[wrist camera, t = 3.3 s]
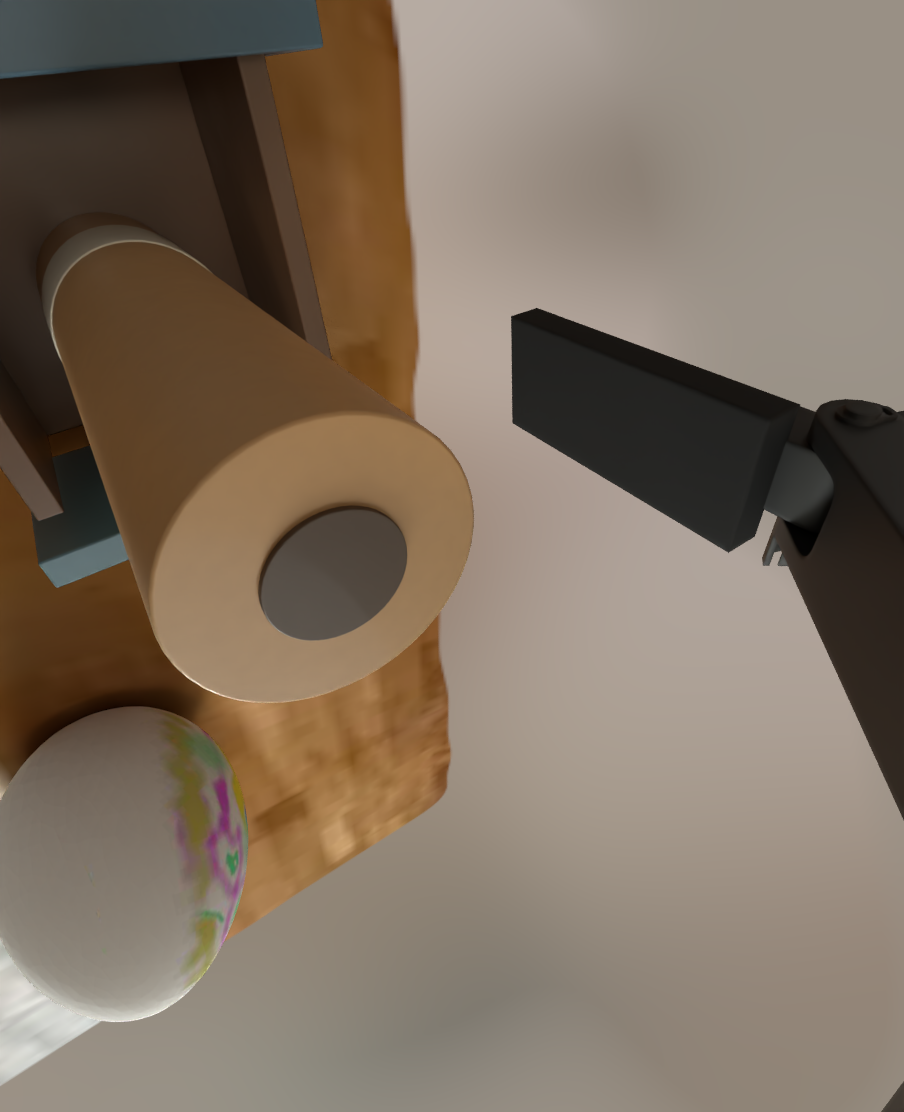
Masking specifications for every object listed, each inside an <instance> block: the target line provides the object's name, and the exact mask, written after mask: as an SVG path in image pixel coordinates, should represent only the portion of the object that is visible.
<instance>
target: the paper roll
mask: <svg viewBox="0 0 904 1112" xmlns="http://www.w3.org/2000/svg"><path fill="white" fill-rule="evenodd" d="M36 281H37V288H38V291H39V295H40V298H41V301H42V304H43V311H44V314H45V318H46V321H47V324H48V327H49V330H50V333H51V336H52V340H53V343H54V346H55V349H56V351H57V353H58V355H59V357H60V360H61V361H62V363H63V366H64V369H65V372H66V375H67V378H68V381H69V384H70V387H71V390H72V393H73V396H74V399H75V402H76V405H77V407H78V410H79V413H80V416H81V419H82V422H83V425H84V428H85V431H86V434H87V437H88V440H89V443H90V446H91V449H92V452H93V455H94V458H95V461H96V464H97V467H98V470H99V473H100V475H101V478H102V481H103V484H104V487H105V490H106V493H107V496H108V499H109V502H110V505H111V508H112V511H113V514H114V517H115V520H116V523H117V526H118V529H119V532H120V535H121V538H122V541H123V543H124V546H125V549H126V552H127V555H128V558H129V561H130V564H131V567H132V570H133V573H134V576H135V579H136V582H137V585H138V588H139V591H140V594H141V597H142V600H143V603H144V606H145V609H146V611H147V614H148V617H149V620H150V623H151V626H152V629H153V632H154V635H155V637H156V639H157V641H158V643H159V645H160V647H161V649H162V651H163V652H164V654H165V655H166V656H167V658H168V659H169V660H170V661H171V663H172V664H173V665H174V666H175V667H176V668H177V669H178V670H179V671H180V672H181V673H182V674H183V675H185V676H186V677H187V678H188V679H190V680H191V681H193V682H194V683H196V684H198V685H199V686H201V687H202V688H204V689H206V690H208V691H211V692H213V693H216V694H218V695H220V696H224V697H227V698H231V699H235V700H239V701H247V702H255V703H280V702H290V701H297V700H302V699H307V698H312V697H316V696H319V695H322V694H326V693H329V692H332V691H335V690H337V689H340V688H342V687H345V686H347V685H349V684H351V683H353V682H356V681H358V680H360V679H362V678H364V677H366V676H367V675H369V674H371V673H372V672H374V671H376V670H377V669H379V668H381V667H382V666H383V665H385V664H386V663H388V662H389V661H391V660H392V659H393V658H395V657H396V656H397V655H399V654H400V653H401V652H402V651H403V650H405V649H406V648H407V647H408V646H409V645H410V644H411V643H412V642H414V641H415V640H416V639H417V638H418V637H419V636H420V635H421V634H422V633H423V632H424V631H425V629H426V628H427V627H428V626H429V625H430V624H431V622H432V621H433V620H434V619H435V618H436V616H437V615H438V614H439V612H440V611H441V610H442V608H443V607H444V605H445V604H446V602H447V601H448V599H449V597H450V596H451V594H452V592H453V591H454V589H455V586H456V585H457V583H458V581H459V579H460V577H461V575H462V572H463V569H464V566H465V564H466V561H467V558H468V554H469V550H470V546H471V542H472V535H473V527H474V510H473V502H472V495H471V491H470V488H469V485H468V481H467V478H466V476H465V474H464V472H463V469H462V467H461V465H460V463H459V462H458V460H457V459H456V457H455V456H454V454H453V453H452V452H451V450H450V449H449V448H448V447H447V446H446V445H445V444H444V443H443V442H442V441H441V440H440V439H439V438H438V437H437V436H435V435H434V434H432V433H431V432H430V431H428V430H427V429H426V428H424V427H423V426H422V425H420V424H419V423H417V422H416V421H415V420H413V419H412V418H411V417H409V416H408V415H406V414H405V413H404V412H402V411H401V410H400V409H398V408H397V407H395V406H394V405H393V404H391V403H390V402H389V401H387V400H386V399H384V398H383V397H382V396H380V395H379V394H378V393H376V392H375V391H373V390H372V389H371V388H369V387H368V386H367V385H365V384H364V383H362V382H361V381H360V380H358V379H357V378H356V377H354V376H353V375H351V374H350V373H349V372H347V371H346V370H345V369H343V368H342V367H340V366H339V365H338V364H336V363H335V362H334V361H332V360H331V359H329V358H328V357H327V356H325V355H324V354H323V353H321V352H320V351H318V350H317V349H316V348H314V347H313V346H312V345H310V344H309V343H307V342H306V341H305V340H303V339H302V338H301V337H299V336H298V335H296V334H295V333H294V332H292V331H291V330H290V329H288V328H287V327H285V326H284V325H283V324H281V323H280V322H279V321H277V320H276V319H274V318H273V317H272V316H270V315H269V314H267V313H266V312H265V311H263V310H262V309H261V308H259V307H258V306H256V305H255V304H254V303H252V302H251V301H250V300H248V299H247V298H245V297H244V296H243V295H241V294H240V293H239V292H237V291H236V290H234V289H233V288H232V287H230V286H229V285H228V284H226V283H225V282H223V281H222V280H221V279H219V278H218V277H217V276H215V275H214V274H213V273H212V272H211V271H210V270H208V269H207V268H206V267H205V266H204V265H203V264H202V263H200V262H199V261H197V260H196V259H195V258H193V257H192V256H191V255H189V254H188V253H186V252H185V251H184V250H182V249H181V248H179V247H178V246H177V245H175V244H174V243H172V242H171V241H169V240H167V239H166V238H164V237H162V236H160V235H159V234H157V233H156V232H155V231H153V230H152V229H151V228H149V227H147V226H146V225H144V224H142V223H140V222H138V221H136V220H134V219H131V218H129V217H125V216H122V215H119V214H113V213H103V212H94V213H85V214H81V215H77V216H75V217H72V218H70V219H67V220H66V221H64V222H62V223H61V224H59V225H58V226H57V227H56V228H55V229H53V230H52V231H51V232H50V234H49V235H48V236H47V238H46V239H45V240H44V242H43V244H42V246H41V248H40V251H39V254H38V257H37V263H36Z"/></svg>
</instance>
